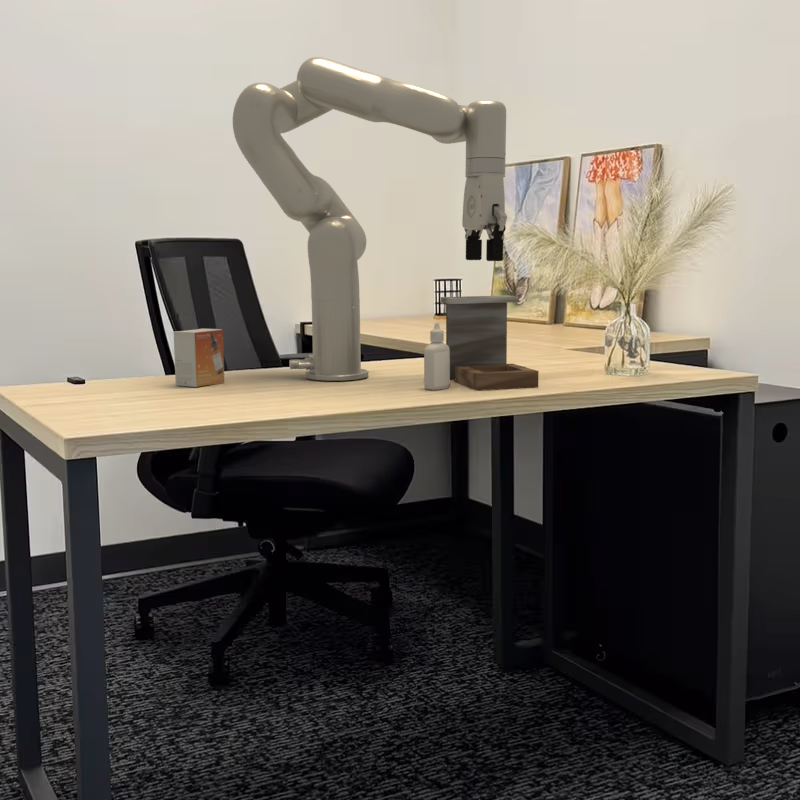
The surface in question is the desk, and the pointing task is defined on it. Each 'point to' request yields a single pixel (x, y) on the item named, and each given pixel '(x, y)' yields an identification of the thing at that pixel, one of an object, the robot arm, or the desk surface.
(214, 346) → the small box
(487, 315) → the display stand with tray
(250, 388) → the desk surface
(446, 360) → the eye dropper bottle
